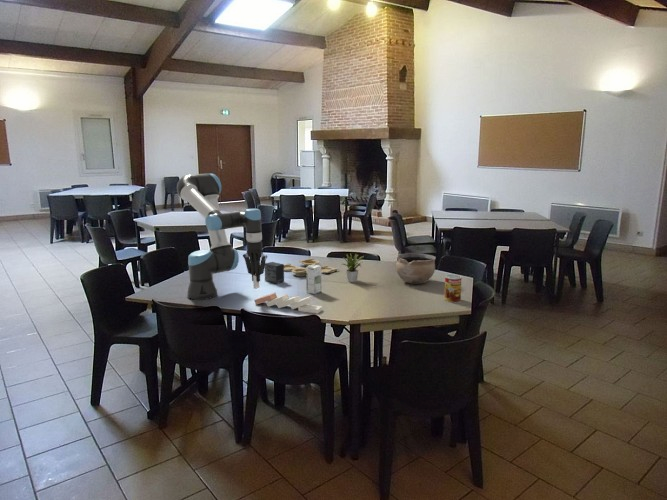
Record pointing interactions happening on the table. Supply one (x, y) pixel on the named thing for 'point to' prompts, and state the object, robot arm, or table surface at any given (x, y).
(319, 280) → the syrup box
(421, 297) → the table surface
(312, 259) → the tableware set
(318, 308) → the domino
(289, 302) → the domino
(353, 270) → the house plant
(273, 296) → the domino
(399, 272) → the ceramic bowl
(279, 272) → the small box
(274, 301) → the domino
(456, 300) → the canned food
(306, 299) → the domino
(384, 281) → the table surface
